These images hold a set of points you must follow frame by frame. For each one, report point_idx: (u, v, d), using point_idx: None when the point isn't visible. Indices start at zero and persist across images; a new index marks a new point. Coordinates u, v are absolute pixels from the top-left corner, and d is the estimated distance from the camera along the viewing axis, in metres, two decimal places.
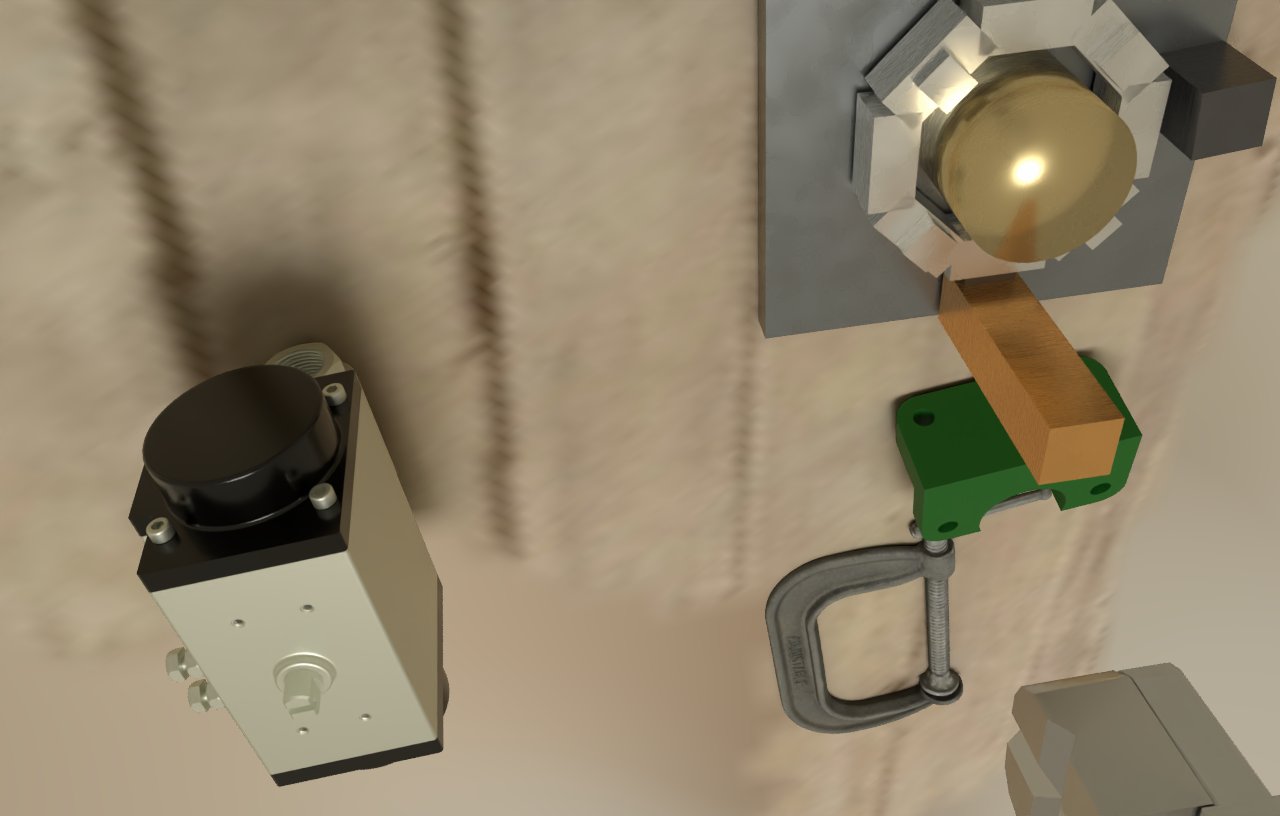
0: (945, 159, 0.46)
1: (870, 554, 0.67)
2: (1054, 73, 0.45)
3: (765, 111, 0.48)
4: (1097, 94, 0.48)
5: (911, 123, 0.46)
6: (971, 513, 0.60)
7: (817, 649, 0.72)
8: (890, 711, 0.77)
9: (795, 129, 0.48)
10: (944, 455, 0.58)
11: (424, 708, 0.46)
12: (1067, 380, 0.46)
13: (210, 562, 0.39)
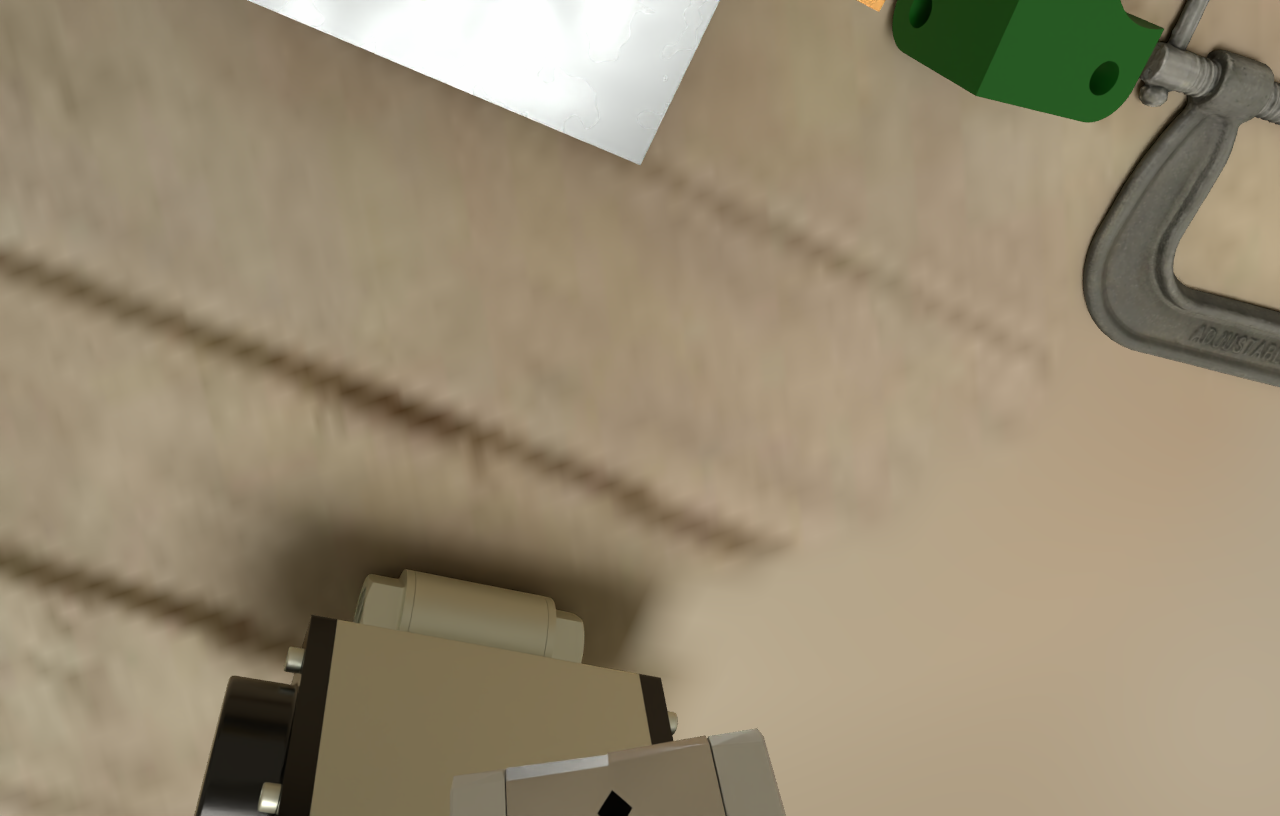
0: None
1: (1137, 176, 0.43)
2: None
3: (301, 21, 0.35)
4: None
5: None
6: (1103, 34, 0.35)
7: (1240, 315, 0.46)
8: None
9: None
10: (967, 28, 0.35)
11: None
12: None
13: None
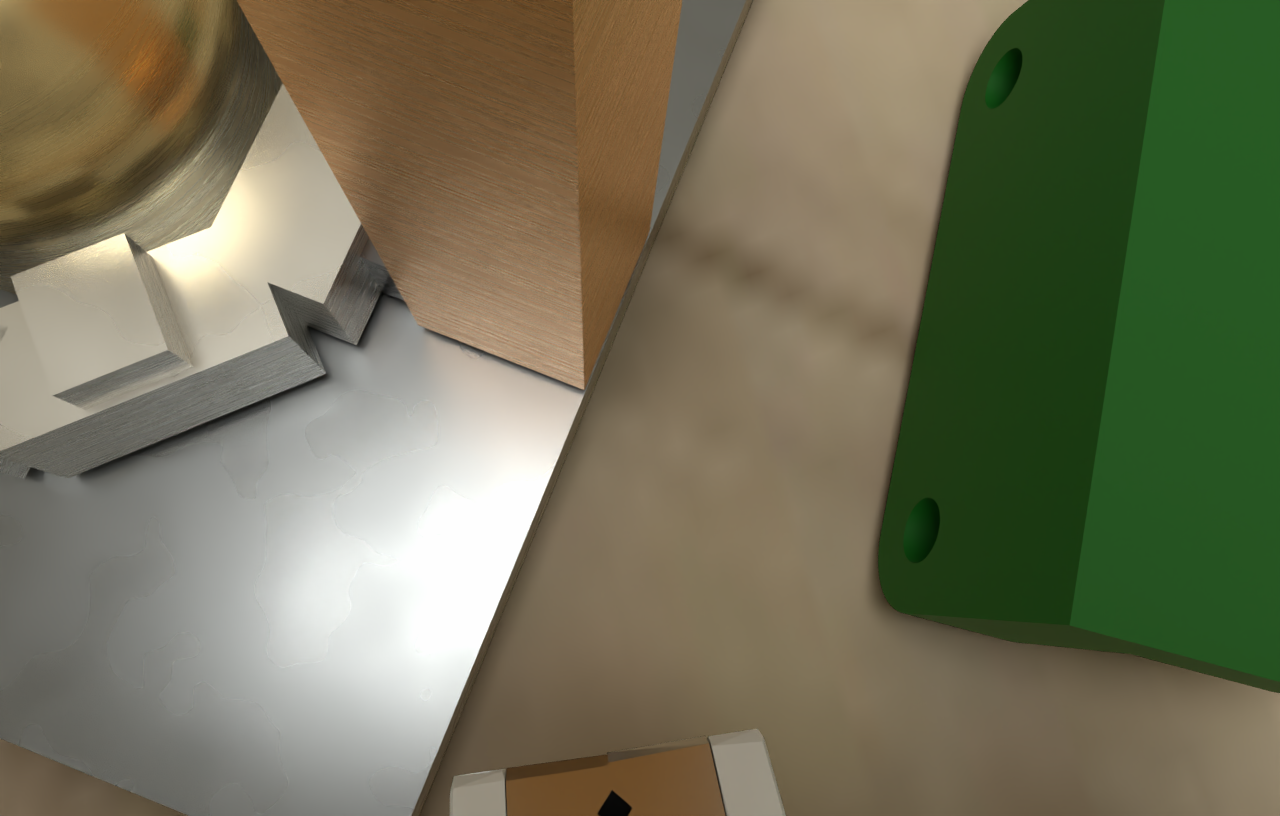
0: None
1: None
2: None
3: None
4: None
5: None
6: None
7: None
8: None
9: None
10: (1013, 511, 0.16)
11: None
12: None
13: None
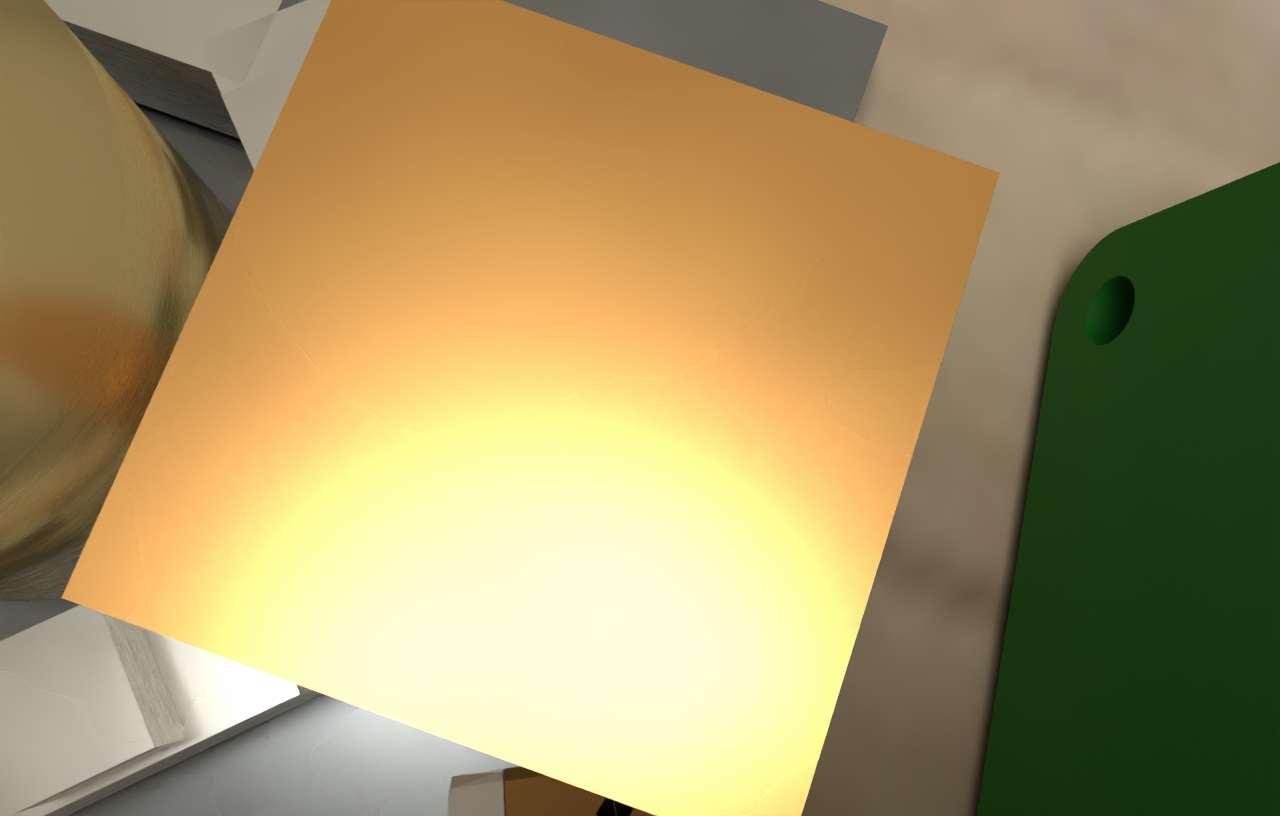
0: None
1: None
2: None
3: None
4: None
5: None
6: None
7: None
8: None
9: None
10: None
11: None
12: None
13: None
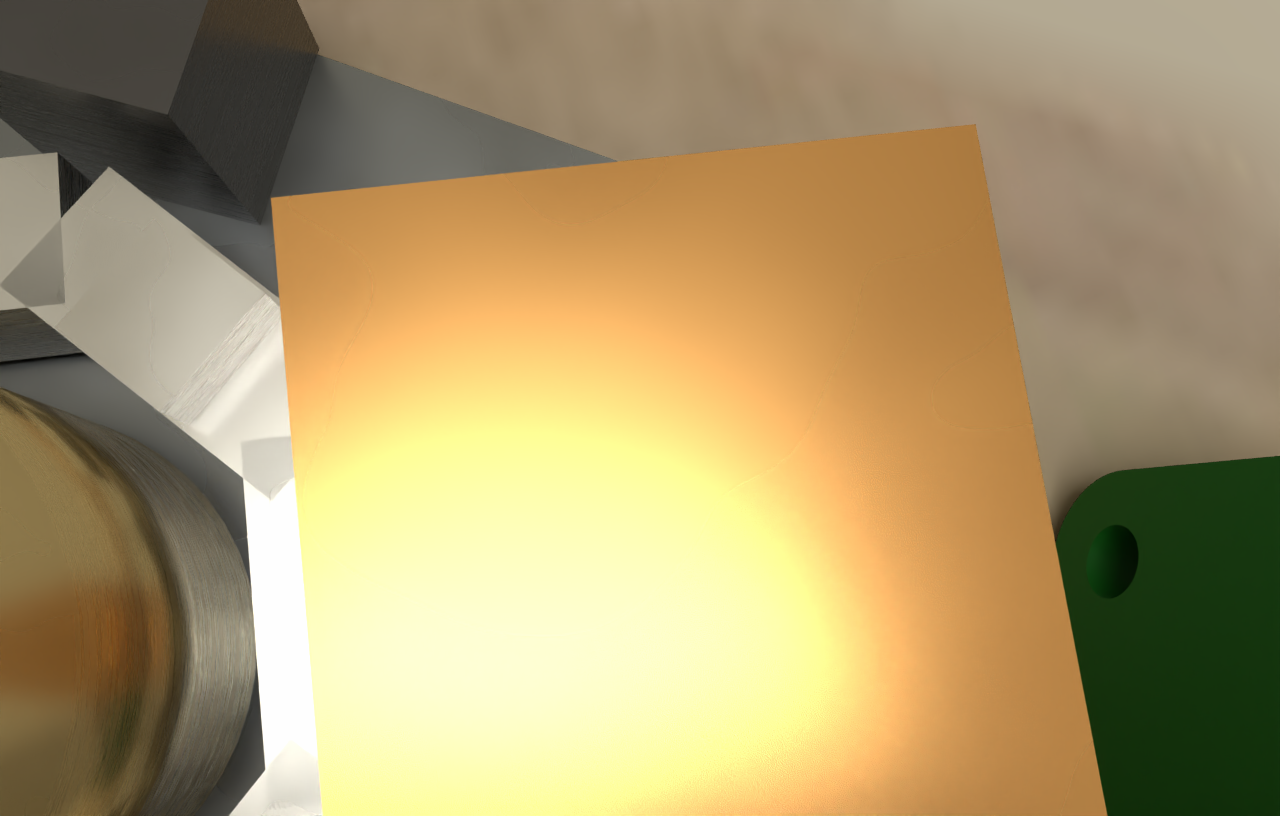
0: None
1: None
2: None
3: None
4: None
5: None
6: None
7: None
8: None
9: None
10: None
11: None
12: None
13: None
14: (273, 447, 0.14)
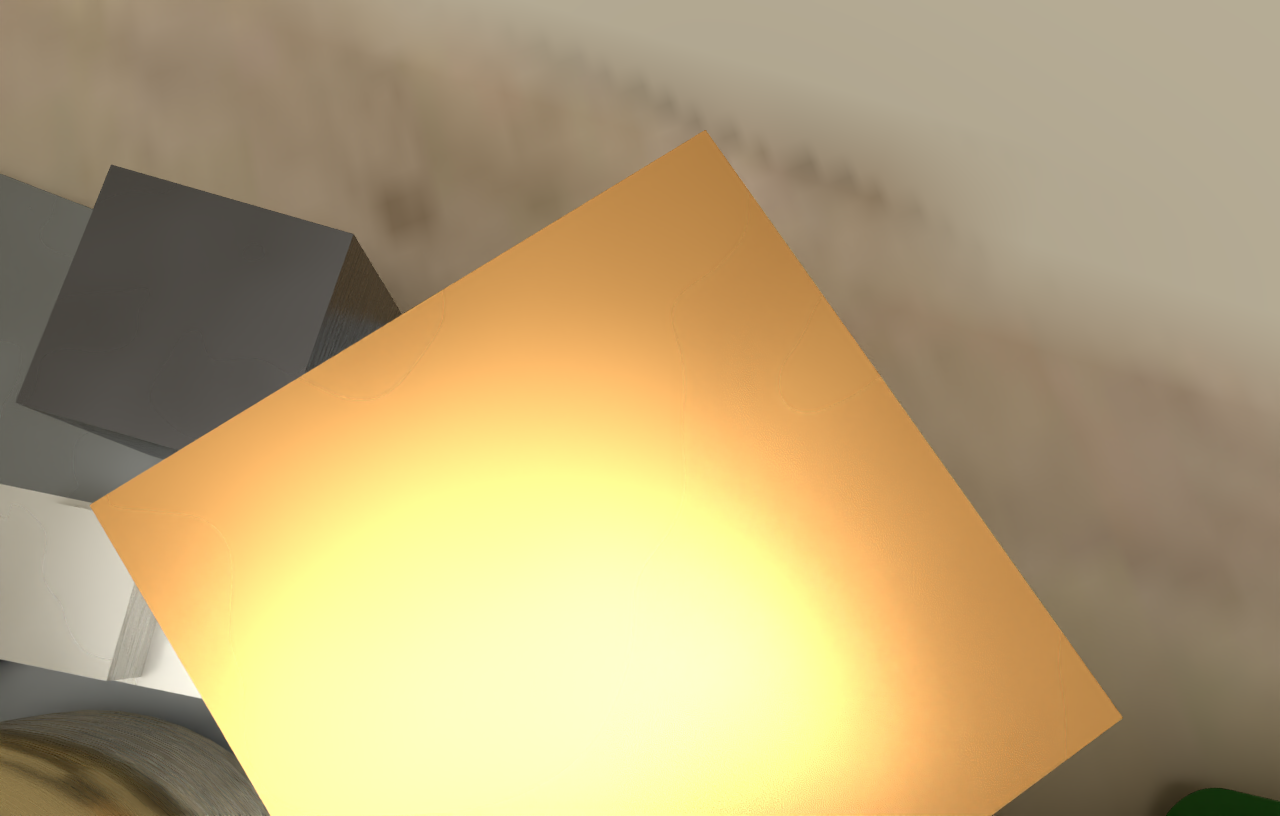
0: None
1: None
2: None
3: None
4: None
5: None
6: None
7: None
8: None
9: None
10: None
11: None
12: None
13: None
14: None
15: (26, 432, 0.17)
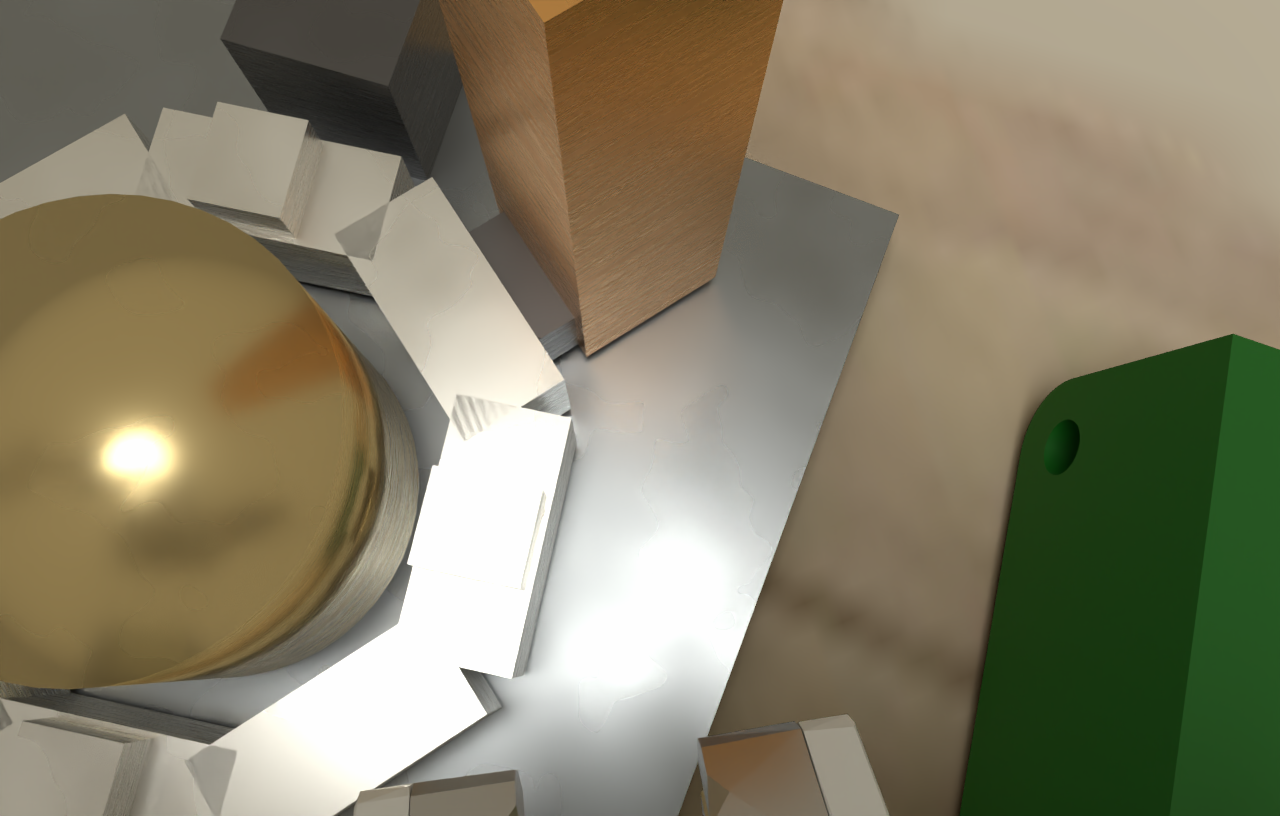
0: None
1: None
2: None
3: None
4: None
5: (222, 769, 0.18)
6: None
7: None
8: None
9: None
10: None
11: None
12: (474, 25, 0.13)
13: None
14: (357, 228, 0.20)
15: None
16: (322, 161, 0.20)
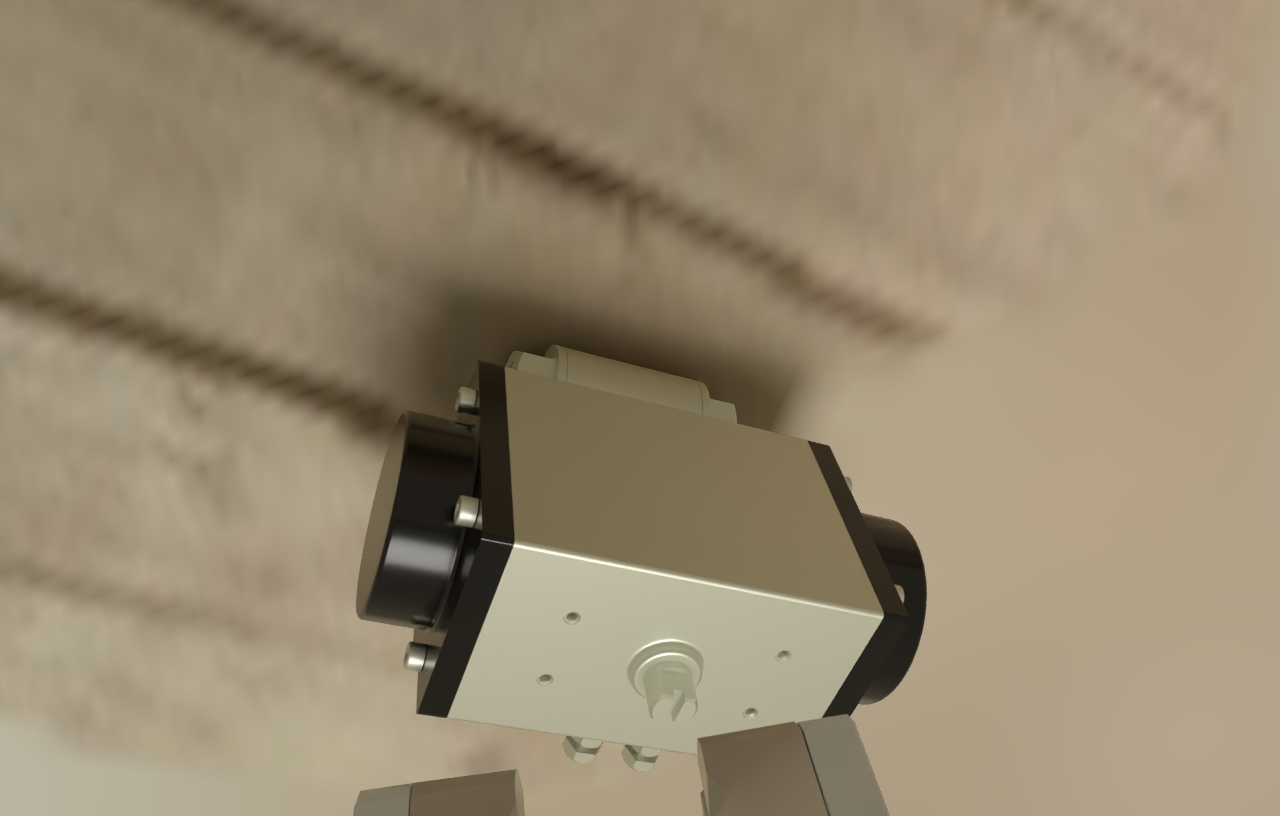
0: None
1: None
2: None
3: None
4: None
5: None
6: None
7: None
8: None
9: None
10: None
11: (827, 600, 0.34)
12: None
13: (441, 655, 0.33)
14: None
15: None
16: None
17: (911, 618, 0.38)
